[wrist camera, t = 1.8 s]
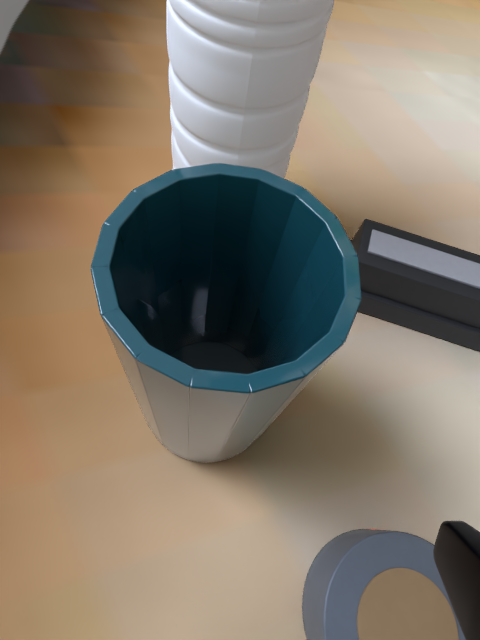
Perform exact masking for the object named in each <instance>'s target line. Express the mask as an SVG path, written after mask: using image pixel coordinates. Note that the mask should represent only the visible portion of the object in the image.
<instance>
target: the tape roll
mask: <svg viewBox="0 0 480 640" xmlns="http://www.w3.org/2000/svg"><path fill="white" fill-rule="evenodd" d="M434 546H435V545H433V544H431V543H430V542H428V541H426V540H424V539H422V538H420V537H418V536H415V535H412V534H409V533H404V532H398V531H385V530H370V529H359V530H352V531H349V532H346V533H343V534H341V535H339V536H337V537H335V538H334V539H332V540H331V541H330V542H328V543H327V544H326V545H325V546H324V547H323V548H322V549H321V551H320V552H319V553H318V555H317V556H316V558H315V559H314V561H313V563H312V565H311V567H310V569H309V572H308V574H307V578H306V581H305V585H304V592H303V603H302V611H303V623H304V629H305V633H306V637H307V640H466V639H465V637H464V635H463V632H462V630H461V627H460V625H459V622H458V620H457V617H456V615H455V612H454V610H453V607H452V605H451V602H450V600H449V597H448V595H447V592H446V590H445V587H444V585H443V582H442V580H441V577H440V574H439V572H438V569H437V567H436V564H435V561H434V557H433V549H434Z"/></svg>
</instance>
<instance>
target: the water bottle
mask: <svg viewBox="0 0 480 640" xmlns="http://www.w3.org/2000/svg"><path fill="white" fill-rule="evenodd" d="M333 4H334V0H167V48H168V55H169V60H170V63H169V93H170V100H171V107H170V120H171V126H172V134H171V146H172V159H173V170H174V169H179V168H185V167H192V166H198V165H205V164H212V163H217V164H218V163H224V164H231V165H238V166H245V167H252V168H259V169H262V170H266V171H269V172H271V173H273V174H275V175H277V176H280V177H282V178H284V177H285V175H286V172H287V169H288V165H289V161H290V153H291V151H292V149H293V147H294V144H295V141H296V137H297V133H298V128H299V123H300V121H301V118H302V116H303V113H304V110H305V106H306V103H307V99H308V95H309V89H310V83H311V81H312V79H313V77H314V74H315V71H316V68H317V65H318V62H319V58H320V54H321V50H322V45H323V42H324V38H325V34H326V29H327V23H328V21H329V19H330V16H331V13H332V9H333Z"/></svg>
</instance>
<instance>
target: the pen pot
mask: <svg viewBox="0 0 480 640" xmlns="http://www.w3.org/2000/svg"><path fill="white" fill-rule="evenodd" d="M91 273H92V278H93V283H94V287H95V292H96V297H97V301H98V306H99V311H100V315H101V317H102V319H103V322H104V324H105V327H106V329H107V331H108V334H109V336H110V338H111V341H112V343H113V345H114V348H115V350H116V352H117V355H118V357H119V359H120V362H121V364H122V366H123V369H124V371H125V373H126V376H127V378H128V380H129V383H130V385H131V387H132V390H133V392H134V394H135V397H136V399H137V401H138V404H139V406H140V408H141V411H142V413H143V415H144V418H145V420H146V422H147V425H148V426H149V428H150V429H151V430H152V432H153V434H154V435H155V437H156V438H157V439H158V441H159V442H160V443H161V444H162V445H163V446H164V447H165V448H167V449H168V450H169V451H171V452H172V453H174V454H175V455H177V456H179V457H181V458H184V459H187V460H190V461H194V462H201V463H211V462H219V461H223V460H226V459H229V458H231V457H234V456H236V455H238V454H240V453H241V452H243V451H244V450H245V449H246V448H248V447H249V446H250V445H251V444H252V443H253V442H254V441H255V440H256V439H257V438H258V437H259V436H260V435H261V434H262V433H263V432H264V431H265V430H266V429H267V428H268V427H269V426H270V424H271V423H272V422H273V421H274V420H275V419H276V418H277V417H278V416H279V415H280V413H281V412H282V411H283V410H284V409H285V408H286V407H287V406H288V405H289V404H290V402H291V401H292V400H293V399H294V398H295V397H296V396H297V395H298V394H299V393H300V391H301V390H302V389H303V388H304V387H305V386H306V385H307V384H308V383H309V382H310V380H311V379H312V378H313V377H314V376H315V375H316V374H317V373H318V372H319V371H320V370H321V368H322V367H323V366H324V365H325V364H326V363H327V362H328V361H329V360H330V359H331V357H332V356H333V355H334V354H335V353H336V352H337V351H338V350H339V349H340V348H341V346H342V345H343V344H344V342H345V341H346V339H347V336H348V334H349V331H350V329H351V326H352V324H353V321H354V319H355V316H356V314H357V311H358V309H359V306H360V304H361V299H362V296H361V283H360V271H359V258H358V255H357V253H356V251H355V249H354V247H353V245H352V243H351V241H350V240H349V238H348V236H347V234H346V232H345V230H344V228H343V227H342V225H341V223H340V221H339V219H338V218H337V217H336V216H335V215H334V214H333V213H332V212H331V211H330V210H329V209H328V208H326V207H325V206H324V205H323V204H322V203H321V202H320V201H319V200H318V199H316V198H315V197H314V196H313V195H312V194H311V193H310V192H309V191H307V190H306V189H304V188H303V187H302V186H299V185H297V184H295V183H293V182H291V181H288V180H286V179H284V178H282V177H280V176H277V175H275V174H273V173H271V172H269V171H266V170H262V169H259V168H252V167H245V166H238V165H231V164H224V163H218V164H217V163H212V164H205V165H198V166H192V167H185V168H179V169H174V170H170V171H168V172H166V173H164V174H162V175H160V176H158V177H157V178H155V179H153V180H151V181H149V182H147V183H145V184H143V185H141V186H139V187H137V188H135V189H133V191H131V192H130V193H129V194H128V195H127V197H126V198H125V199H124V200H123V201H122V202H121V203H120V205H119V206H118V207H117V208H116V209H115V210H114V211H113V213H112V214H111V215H110V216H109V217H108V218H107V219H106V221H105V222H104V224H103V225H102V228H101V232H100V235H99V239H98V243H97V246H96V250H95V253H94V257H93V261H92V264H91Z"/></svg>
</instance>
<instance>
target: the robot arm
mask: <svg viewBox="0 0 480 640" xmlns="http://www.w3.org/2000/svg"><path fill="white" fill-rule="evenodd" d="M433 557H434V561H435V564H436V567H437V569H438V572H439V574H440V577H441V580H442V582H443V585H444V587H445V590H446V592H447V595H448V597H449V600H450V602H451V605H452V607H453V610H454V612H455V615H456V617H457V620H458V622H459V625H460V627H461V630H462V632H463V635H464V637H465V639H466V640H480V532H479V531H477V530H476V529H474V528H473V527H471V526H470V525H468V524H467V523H465V522H463V521H444V522H443V523H442V524H441V526H440V529H439V532H438V536H437V539H436V542H435V546H434V549H433Z"/></svg>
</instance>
